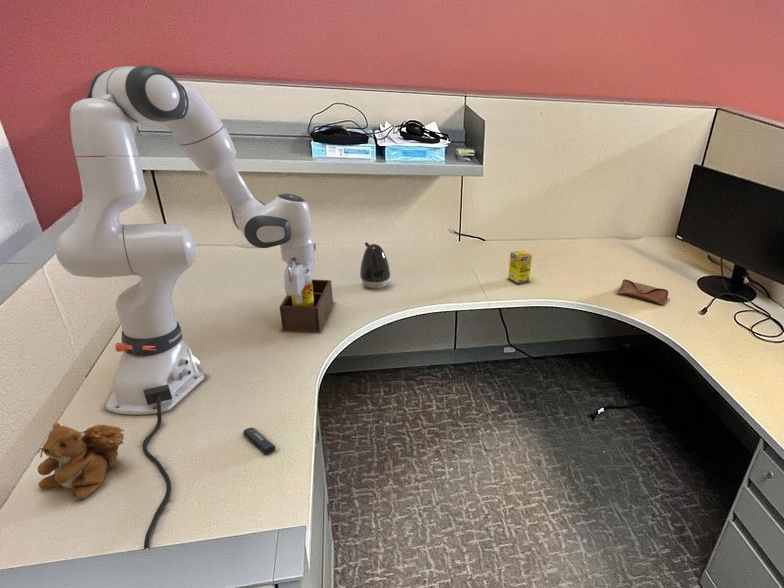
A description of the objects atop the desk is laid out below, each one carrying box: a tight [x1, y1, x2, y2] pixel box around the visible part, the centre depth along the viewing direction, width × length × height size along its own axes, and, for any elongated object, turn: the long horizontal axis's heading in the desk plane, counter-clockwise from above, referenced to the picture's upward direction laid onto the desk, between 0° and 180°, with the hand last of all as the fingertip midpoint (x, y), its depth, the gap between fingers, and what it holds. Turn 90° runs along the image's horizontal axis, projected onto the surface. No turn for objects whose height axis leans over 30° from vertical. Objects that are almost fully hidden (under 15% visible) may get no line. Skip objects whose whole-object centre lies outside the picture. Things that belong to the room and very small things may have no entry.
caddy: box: [279, 278, 334, 334], centre depth 173 cm, size 20×11×8 cm, turn 5°
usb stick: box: [242, 427, 276, 454], centre depth 123 cm, size 10×3×2 cm, turn 50°
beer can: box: [291, 269, 314, 307], centre depth 165 cm, size 6×6×15 cm
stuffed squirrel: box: [37, 422, 125, 500], centre depth 107 cm, size 10×14×13 cm
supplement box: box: [507, 249, 533, 285], centre depth 211 cm, size 6×6×11 cm
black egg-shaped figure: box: [359, 241, 391, 290], centre depth 194 cm, size 10×10×15 cm
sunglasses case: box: [616, 278, 669, 306], centre depth 211 cm, size 18×7×7 cm
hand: (302, 297), depth 166 cm, fingers closed on beer can, 6 cm apart
